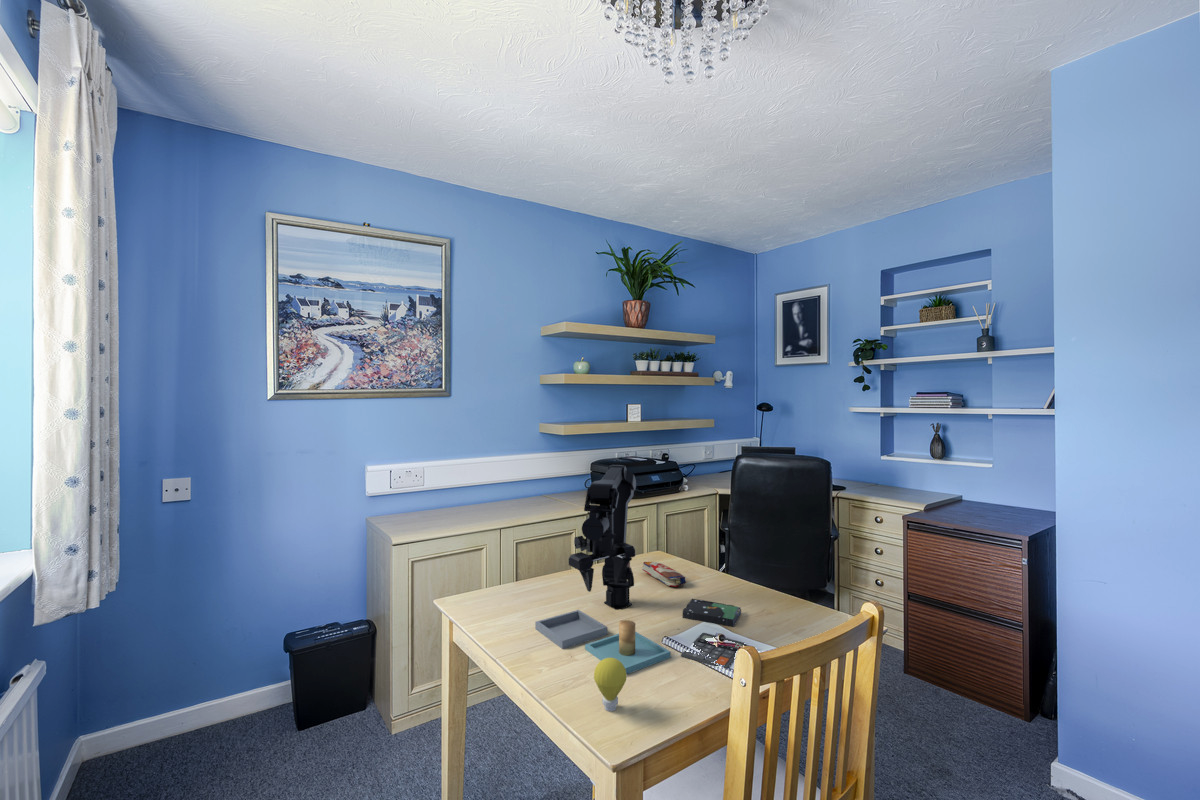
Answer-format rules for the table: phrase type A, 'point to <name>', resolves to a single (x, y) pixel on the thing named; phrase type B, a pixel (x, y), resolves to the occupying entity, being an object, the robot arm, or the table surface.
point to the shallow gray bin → (571, 628)
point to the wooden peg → (627, 638)
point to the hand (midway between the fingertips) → (602, 587)
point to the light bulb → (610, 681)
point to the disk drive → (712, 612)
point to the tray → (643, 656)
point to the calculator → (713, 651)
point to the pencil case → (664, 573)
